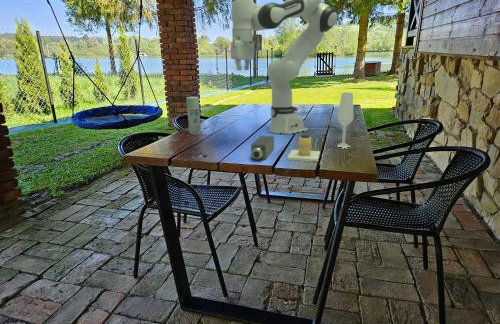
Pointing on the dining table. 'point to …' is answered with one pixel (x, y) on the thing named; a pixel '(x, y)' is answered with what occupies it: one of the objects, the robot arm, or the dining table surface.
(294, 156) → the far side pad
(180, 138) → the dining table surface
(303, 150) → the yellow cylinder
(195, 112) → the spray can
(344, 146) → the champagne flute
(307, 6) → the robot arm
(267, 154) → the motor housing
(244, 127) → the dining table surface
